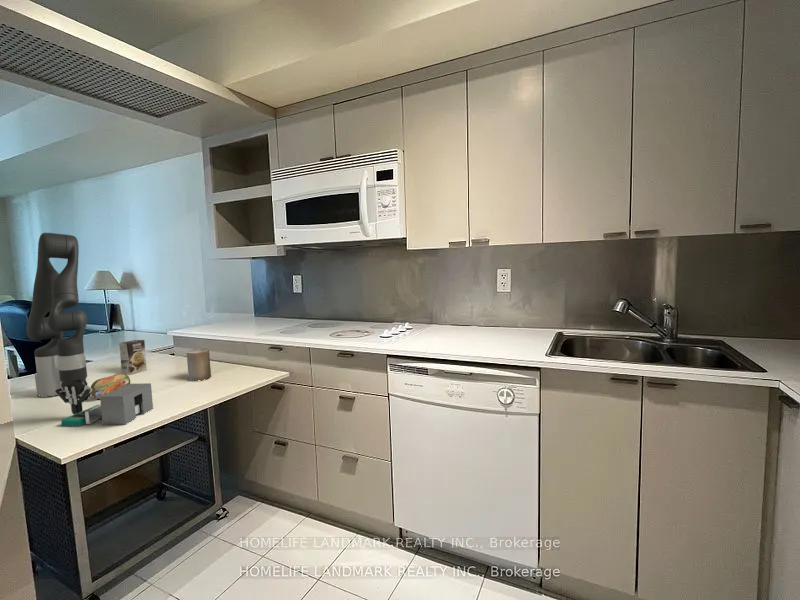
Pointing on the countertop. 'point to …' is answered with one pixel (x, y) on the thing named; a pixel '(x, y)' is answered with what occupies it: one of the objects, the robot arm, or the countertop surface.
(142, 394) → the gray tunnel block
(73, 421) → the digital multimeter
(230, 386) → the countertop surface
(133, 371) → the food box
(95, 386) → the tin
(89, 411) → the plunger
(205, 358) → the pillar candle
